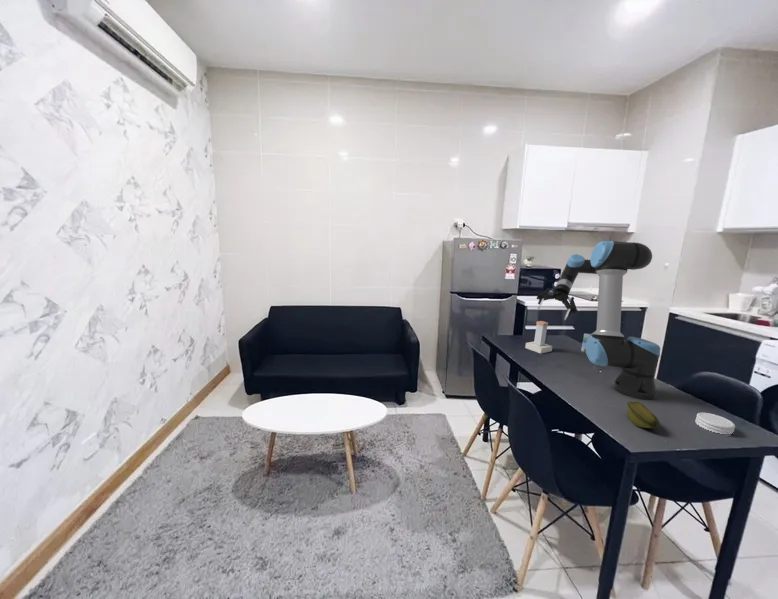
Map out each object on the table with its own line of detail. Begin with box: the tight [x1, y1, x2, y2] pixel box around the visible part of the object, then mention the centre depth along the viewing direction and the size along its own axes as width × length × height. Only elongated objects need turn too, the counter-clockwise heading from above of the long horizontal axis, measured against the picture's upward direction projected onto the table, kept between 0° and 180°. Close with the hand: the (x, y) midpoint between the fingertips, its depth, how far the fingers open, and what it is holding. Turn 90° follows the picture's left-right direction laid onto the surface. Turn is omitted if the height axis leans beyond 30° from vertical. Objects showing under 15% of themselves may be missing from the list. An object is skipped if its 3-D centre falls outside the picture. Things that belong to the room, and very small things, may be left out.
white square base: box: [525, 341, 553, 354], centre depth 194 cm, size 10×10×4 cm
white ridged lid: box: [694, 412, 736, 435], centre depth 120 cm, size 10×10×4 cm
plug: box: [533, 320, 549, 346], centre depth 192 cm, size 4×4×16 cm
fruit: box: [626, 400, 661, 430], centre depth 120 cm, size 11×12×7 cm
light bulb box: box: [580, 333, 592, 354], centre depth 194 cm, size 11×7×11 cm, turn 6°
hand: (552, 313), depth 176 cm, fingers open, 13 cm apart
